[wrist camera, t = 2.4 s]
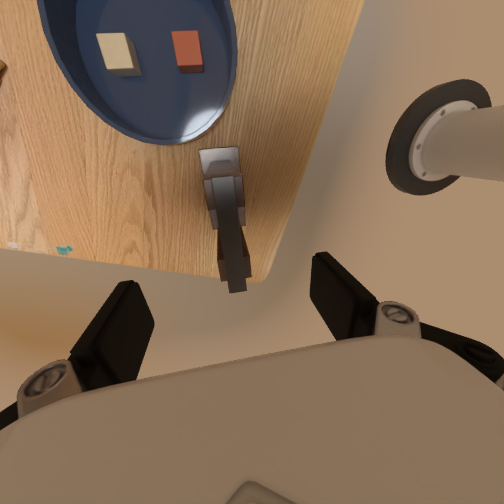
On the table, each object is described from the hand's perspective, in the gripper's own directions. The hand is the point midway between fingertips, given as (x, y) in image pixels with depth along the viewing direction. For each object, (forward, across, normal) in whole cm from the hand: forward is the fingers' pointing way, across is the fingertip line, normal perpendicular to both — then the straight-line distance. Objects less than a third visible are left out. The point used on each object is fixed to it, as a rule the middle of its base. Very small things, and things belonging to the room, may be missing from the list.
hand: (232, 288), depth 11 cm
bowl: (+27, +5, -17) cm, 33 cm away
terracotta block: (+27, +1, -17) cm, 32 cm away
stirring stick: (+7, 0, 0) cm, 7 cm away
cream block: (+27, +9, -17) cm, 33 cm away
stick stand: (+27, -1, 0) cm, 27 cm away
